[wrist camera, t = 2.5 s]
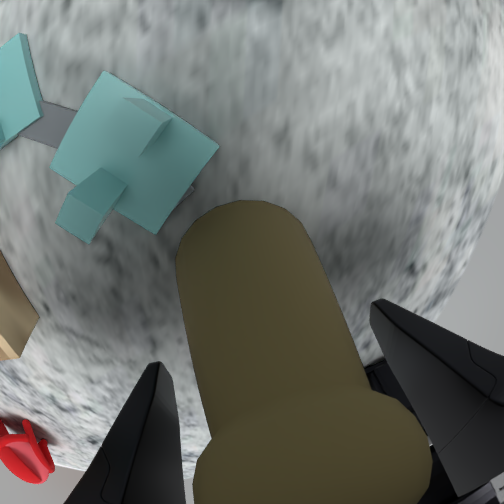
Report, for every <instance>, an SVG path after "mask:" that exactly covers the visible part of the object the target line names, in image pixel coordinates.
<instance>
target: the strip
mask: <svg viewBox="0 0 504 504" xmlns="http://www.w3.org/2000/svg"><path fill="white" fill-rule="evenodd" d="M39 103H40V106H41V109H42V112H43V115H44V116H43V117H41V118H40V119H38V120H37V121H35V122H34V123H33V124H31V125H30V126H28V127H27V128H26V129H24V130H23V131H21V132H20V133H19V134H17V135H20V136H23V137H26V138H29V139H31V140H34V141H37V142H40V143H43V144H46V145H49V146H52V147H54V148H57V149H58V148H59V146H60V144H61V142H62V140H63V138H64V136H65V134H66V132H67V130H68V128H69V126H70V125H71V123H72V121H73V119H74V117H75V116H76V114H77V112H78V111H75V110H72V109H69V108H65V107H62V106H59V105H56V104H52V103H49V102H46V101H39ZM193 191H194V188H193V186H192V185H190V186H189V188H188V189H187V190H186V192H185V193H184V195H183V196H182V197H181V199H180V200H179V202H178V203H177V204H176V206H175V207H177V206H178V205H179V204H180V203H181V202H182V201H183V200H184V199H185V198H186V197H188V196H189V195H190V194H191V193H192V192H193ZM175 207H174V208H175Z"/></svg>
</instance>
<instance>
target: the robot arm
mask: <svg viewBox="0 0 504 504" xmlns="http://www.w3.org/2000/svg"><path fill="white" fill-rule="evenodd" d="M369 320H370V325H371V328H372V330H373V332H374V334H375V336H376V338H377V341H378V343H379V345H380V347H381V350H382V352H383V354H384V356H385V358H386V360H385V361H383V362H380V363H378V364H376V365H373V366H371V367H368V368H366V369H364V370H365V373H366V375H367V378H368V381H369V384H370V387H371V389H372V390H373V391H376V392H379V393H381V394H384V395H387V396H389V397H392V398H395V399H397V400H398V401H399V402H400V403H401V404H403V405H404V406H405V407H406V408H407V409H408V410H409V411H410V412H411V413H412V414H413V415H414V416H415V417H416V419H417V420H418V422H419V424H420V425H421V427H422V429H423V430H424V432H425V434H426V436H427V438H428V442H429V445H430V444H433V445H431V446H430V451H431V456H432V461H433V462H432V469H431V476H430V482H429V487H428V489H427V490H426V492H425V493H424V495H423V496H422V497H421V499H420V500H419V502H418V503H417V504H504V356H502V355H499V354H497V353H495V352H492V351H490V350H487V349H485V348H483V347H481V346H479V345H477V344H475V343H473V342H471V341H469V340H468V341H467V339H465V338H463V337H461V336H459V335H457V334H455V333H453V332H450V331H449V330H447V329H445V328H443V327H440V326H439V325H437V324H435V323H433V322H431V321H429V320H427V319H425V318H423V317H420V316H418V315H416V314H414V313H412V312H410V311H408V310H406V309H404V308H402V307H400V306H398V305H396V304H394V303H392V302H390V301H388V300H386V299H383V298H381V299H378V300H376V301H373V302H372V303H371V307H370V319H369ZM64 504H186V500H185V490H184V480H183V469H182V457H181V442H180V426H179V417H178V411H177V405H176V398H175V392H174V385H173V380H172V377H171V375H170V373H169V372H168V371H167V369H166V368H165V366H164V365H163V363H162V362H160V361H158V362H153V363H149V364H148V365H147V367H146V369H145V370H144V372H143V374H142V375H141V377H140V379H139V380H138V382H137V384H136V386H135V387H134V389H133V391H132V392H131V394H130V396H129V397H128V399H127V401H126V403H125V404H124V406H123V408H122V410H121V411H120V413H119V415H118V417H117V418H116V420H115V422H114V424H113V425H112V427H111V429H110V431H109V432H108V434H107V436H106V438H105V440H104V441H103V443H102V447H100V448H99V450H98V452H97V454H96V456H95V457H94V459H93V461H92V462H91V464H90V466H89V467H88V469H87V470H86V472H85V474H84V475H83V477H82V478H81V479H80V481H79V482H78V484H77V485H76V487H75V488H74V490H73V491H72V492H71V494H70V495H69V497H68V498H67V500H66V501H65V502H64Z"/></svg>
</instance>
